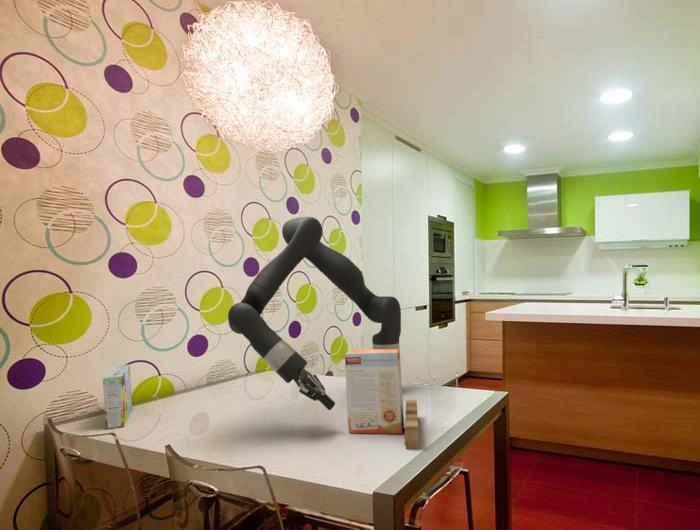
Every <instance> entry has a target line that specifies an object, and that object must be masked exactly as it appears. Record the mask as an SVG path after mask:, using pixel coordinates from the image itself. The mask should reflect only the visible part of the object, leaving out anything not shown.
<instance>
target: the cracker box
mask: <svg viewBox="0 0 700 530" xmlns="http://www.w3.org/2000/svg"><path fill="white" fill-rule="evenodd" d="M344 362H345V365H344V366H345V385H346V386H345V388H346V403H347V404H346V405H347V406H346V407H347V424H348V425H347V426H348V433H349V434H383V435H384V434H385V435H387V434H388V435H389V434H392V435H402V434H403V431H404V430H405V417H404V402H403V401H404V400H403V386H402V385H403V384H402V383H403V382H402V367H401V350H399V349H378V350H373V349H350V350H348V351H347V352H345V353H344Z"/></svg>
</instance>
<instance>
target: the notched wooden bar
mask: <svg viewBox="0 0 700 530" xmlns="http://www.w3.org/2000/svg"><path fill="white" fill-rule="evenodd" d="M404 414H405V417H404V446H405V450H420V439H419V437H420V436H419V417H418V400H417V399H406V401H405V413H404Z"/></svg>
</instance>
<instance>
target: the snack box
mask: <svg viewBox="0 0 700 530" xmlns="http://www.w3.org/2000/svg"><path fill="white" fill-rule="evenodd" d="M131 383H132V382H131V364H119V365H114V366H112V368H110V370H108V372H107V373H106V375H104V376H103V378H102V385H103V387H102V388H103V401H104V402H103V405H104V422H105V424H104V425H105V427H104V428H105V430H110V429H118V428H124V427H125V426H126V423H127V421H128V418H129V416H130V414H131V412H132V410H133V402H132V399H133V397H132V386H131V385H132V384H131Z"/></svg>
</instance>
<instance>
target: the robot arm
mask: <svg viewBox="0 0 700 530" xmlns="http://www.w3.org/2000/svg"><path fill="white" fill-rule="evenodd" d="M281 231H282V232H281V234H282V237H283V240H284V242H285V243H286V244H287V245H286V247H285V248H284V249H283V250H281V252H280V253H279V254H278V255H277V256H275V257H274V258H273V259H272V260H270V261H269V262H267V264H266V265H265V266H264V267H263V268H262V269H261V270H260V271H259V272H258V274H257V275H256V276H255V277H254V279H253V281H251V283H250V284H249V285H248V288H247V289H246V292H245V294H244V297H243V298H242V299H241V301H240V302H238V303H234V304H233V305H231V307H230V308H229V310H228V313H227V320H228V325H229V328H230V329H231V331H232V332H234V333H235V334H238V335H242V336H243V337H244V338H246V339H247V341H248V342H249V344H250V346H251V347H252V348H253V350H254V351H255V352H256V353H257V354H258V355H259V356H260V357H261V358H262V359H263V360H264V361H265V362H266V363H267V366H269V367H270V368H271V369H272V370H273V371H274V372H275V373H276V374H277V375H278V376H279V377H280V378H281V379H282V380H283V381H284V382H285V383H286V384H290V383H291V382H292V381H294V382H295V384H296V386H297V387H298V388H299V389H298V391H299V393H300V394H302V395H304V396H305V397H307V398H309V399H311V400H312V401H314V402H319V403H321V405H323V406H324V408H326V410H328V411H332V409H333V408H334V407H335V405H336V402H335V400H333V399H332V398H331V397H330V396H329V395H328V394H327V392H326V388H325V386H324V384H323V383H322V382H321V381H320V379H319V378H318V376H317V375H316V374H313V373H312V372H310V371H307V370H306V369H305V367H306V365H308V361H307V360H306V359H305V358H304V357H303V356H302V355H300V353H299V352H298V351H297V350H295V349H294V348H293V347H292V346H291V345H290V344H289V343H288V342H286V341H285V340H284V339H283V338H282V337H281V336H280V335H278V334H277V332H276V331H274V330H273V329H272V328H271V327H270V326H269V324H268V323H267V322H266V320H264V319H263V317H262V316H261V315H262V313H263V312H264V310H265V308H266V306H267V305H268V304H269V303H270V301H271V300H272V299H273V297H274V296H275V295H276V293H277V292H278V290H279V289H280V287H281V286H282V284H283V283H284V282H285V280H286V279H287V278H288V277H289V276H290V274H291V273H292V272H293V271H294V270H295V268H296V267H297V266H298V265H299V264H300V263H301V262H302V261H303V259H304V258H305V259H307V261H309V262H310V263H311V264H312V265H313V266H314V267H315V268H316V269H318V270H319V272H320V273H322V274H323V275H324V276H325V277H326V278H328V280H329V281H330V282H331V283H332V284H333V285H334V286H335V287H337V288H338V289H339V290H340V291H341V292H343V293H344V294H345V295H346V297H348V298H349V299H350V300H351V301H352V302H353V303H354V304H355V305H356V306H357V307H358V308H359V309H360V310H361V312H362V313H363V314H364V316H365V317H367V319H368V320H370V321H371V322H372V323H376V324H380V325H381V326H380V331H378V333H375V334H373V336H372V337H371V340H372V341H371V342H372V350H378V349H399V350H400V349H401V348H400V336H401V334H402V333H401V332H402V310H401V304H400V301H399V300H398V299H397V298H396V297H395V296H389V295H388V296H386V295H385V296H383V295H381V296H378V295H377V294H375V293H373V291H371V290H370V289H369V288H368V287H367V286H366V283H365V278H364V275H363V272H362V271H361V269H360V268H359V267H358V265H356V264H355V263H354V261H352V260H351V259H350V258H349V257H347V256H345V254H342V253H341V252H338V251H337V250H334V249H332V248H331V247H329V246H327V245H326V244H324V243H323V242H321V240H322V237H323V226H322V224H321V222H320V221H319V220H318V219H317V218H316V217H314V216H313V217H312V216H302V217H300V216H299V217H295V218H292V219H288V220H286V222H284V224H283V226H282V229H281ZM400 351H401V350H400Z"/></svg>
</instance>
